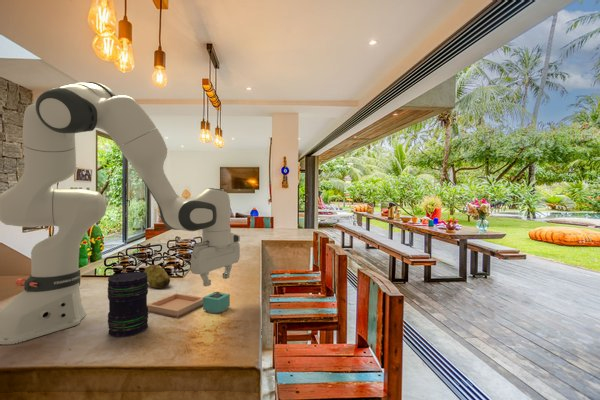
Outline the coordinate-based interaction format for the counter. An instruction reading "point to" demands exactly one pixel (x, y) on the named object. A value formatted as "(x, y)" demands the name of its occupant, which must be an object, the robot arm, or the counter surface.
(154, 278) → the potato
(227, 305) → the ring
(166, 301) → the tray
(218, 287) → the counter surface
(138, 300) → the storage jar
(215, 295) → the grey peg stand
